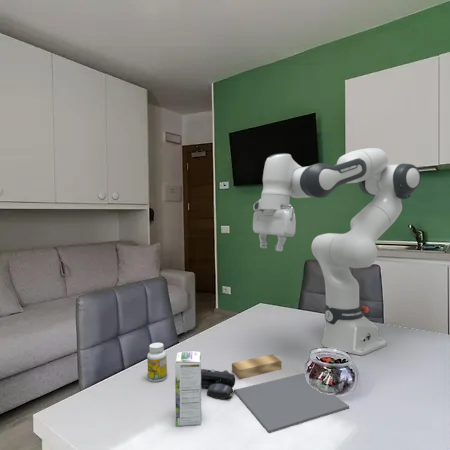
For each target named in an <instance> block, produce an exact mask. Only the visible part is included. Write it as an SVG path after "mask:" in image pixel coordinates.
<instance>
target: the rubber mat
mask: <svg viewBox="0 0 450 450" xmlns="http://www.w3.org/2000/svg"><path fill="white" fill-rule="evenodd" d="M305 374H306V373H304V372H303V373H299V374H294V375H290V376H286V377H281V378H278V379H274V380H269V381H265V382H261V383H257V384H254V385H248V386H245V387H240V388H236V389H233V393H234V394H235V395H236V396H237V397H238V398H239V400H240V401H241V402H242V403H243V404H244V406H246V408H247V409H248V410H249V412H251V413H252V415H253V416H254V417H255V418H256V420H257V421H258V422H259V423H260V425H261V426H262V427H263V428H264V429H265V430H266V432H267V433H268V434H271V433H273V432H277V431H280V430H283V429H286V428H290V427H293V426H296V425H300V424H302V423H306V422H309V421H312V420H315V419H320V418H322V417H325V416H329V415H331V414H332V415H333V414H334V413H338V412H341V411H345V410H347V409H350V405H348V404H347V403H346V402H345V401H344V400H341V399H340V398H339V397H338V396H336V395H335V394H333V395H327V394H324V393H320V392H319V391H317V390H316V389H314V388H312V387H311V386H310V385H309V384H308V383H307V381H306V377H305Z"/></svg>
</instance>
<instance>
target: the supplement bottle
mask: <svg viewBox="0 0 450 450" xmlns="http://www.w3.org/2000/svg"><path fill="white" fill-rule="evenodd" d="M148 347H149V348H148V349H149V352H148V353H147V357H146V359H147V379H148V380H149V381H150V382H151V383H160V382H162V381H165V380H166V379H167V377H168V367H167V366H168V365H167V363H168V362H167V361H168V360H167V359H168V358H167V352H166V350H164V347H165V346H164V343H162V342H153V343H150V344H149V346H148Z"/></svg>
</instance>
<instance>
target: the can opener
mask: <svg viewBox="0 0 450 450" xmlns="http://www.w3.org/2000/svg"><path fill="white" fill-rule="evenodd" d="M235 385H236V375H235V374H234V373H232V372H231V373H230V371H228V370H226V369H225V370H223V371H219V370H215V369H207V368H206V369H204V368H203V369H202V368H201V387H202V386H204V387H208V388H207V390H206V394H207V395H208V396H209V397H211V398H216V399H227V398H229V397H230V396H231V395H233V393H234V389H233V388H234V386H235Z"/></svg>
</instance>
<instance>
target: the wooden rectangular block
mask: <svg viewBox="0 0 450 450" xmlns="http://www.w3.org/2000/svg"><path fill="white" fill-rule="evenodd" d="M280 370H282V360H281V359H280V358H278V357H277V356H275V354H269V355H267V354H266V355H263V356H259V357H258V356H257V357H253V358H250V359H245V360H240V361H235V362H232V363H231V373H232V374H233V375H234V376H235V377H236V378H237V379H238V380H243V379H247V378H248V379H249V378H251V377H256V376H260V375H263V374H268V373H271V372H276V371H280Z"/></svg>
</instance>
